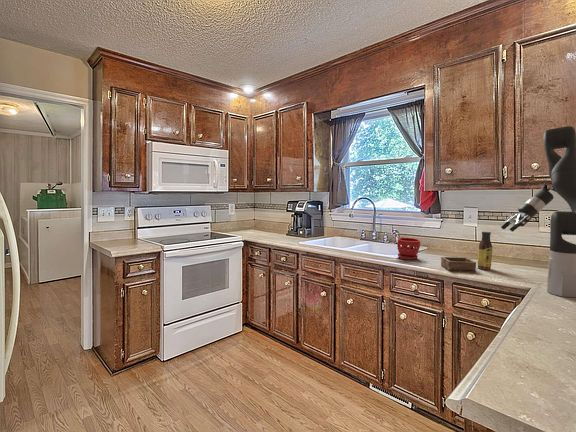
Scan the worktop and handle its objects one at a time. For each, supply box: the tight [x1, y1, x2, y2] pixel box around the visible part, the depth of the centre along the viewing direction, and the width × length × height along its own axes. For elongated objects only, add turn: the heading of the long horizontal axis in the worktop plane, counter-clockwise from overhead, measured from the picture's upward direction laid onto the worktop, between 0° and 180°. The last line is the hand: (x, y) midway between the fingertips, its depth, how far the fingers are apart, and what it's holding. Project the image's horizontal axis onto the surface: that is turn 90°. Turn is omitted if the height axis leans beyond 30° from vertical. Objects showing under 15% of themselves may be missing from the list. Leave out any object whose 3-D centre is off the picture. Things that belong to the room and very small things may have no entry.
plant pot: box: [396, 237, 421, 261], centre depth 198 cm, size 13×13×12 cm
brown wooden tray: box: [440, 256, 477, 273], centre depth 172 cm, size 12×13×5 cm
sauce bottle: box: [477, 230, 493, 271], centre depth 171 cm, size 7×6×20 cm
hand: (506, 229), depth 169 cm, fingers open, 8 cm apart
